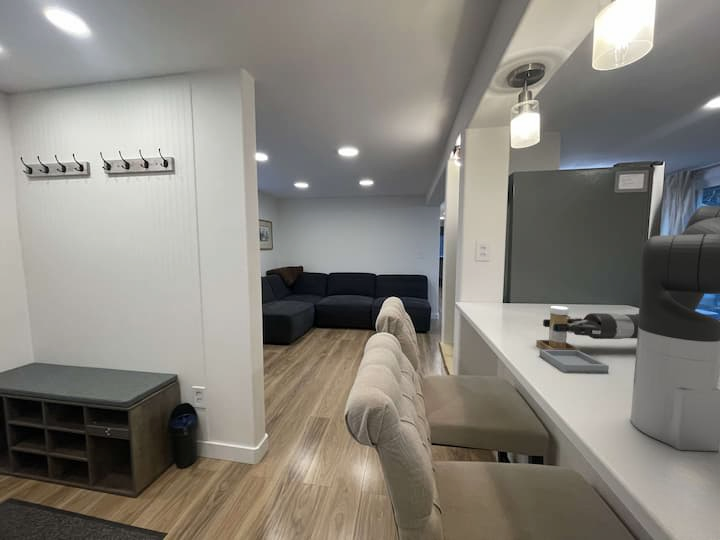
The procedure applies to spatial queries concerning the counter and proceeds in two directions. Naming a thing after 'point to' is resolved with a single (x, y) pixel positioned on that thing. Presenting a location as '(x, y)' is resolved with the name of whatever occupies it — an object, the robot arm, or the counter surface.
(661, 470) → the counter surface
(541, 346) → the wooden picture frame
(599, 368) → the slate tray
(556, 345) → the sprinkles bottle
